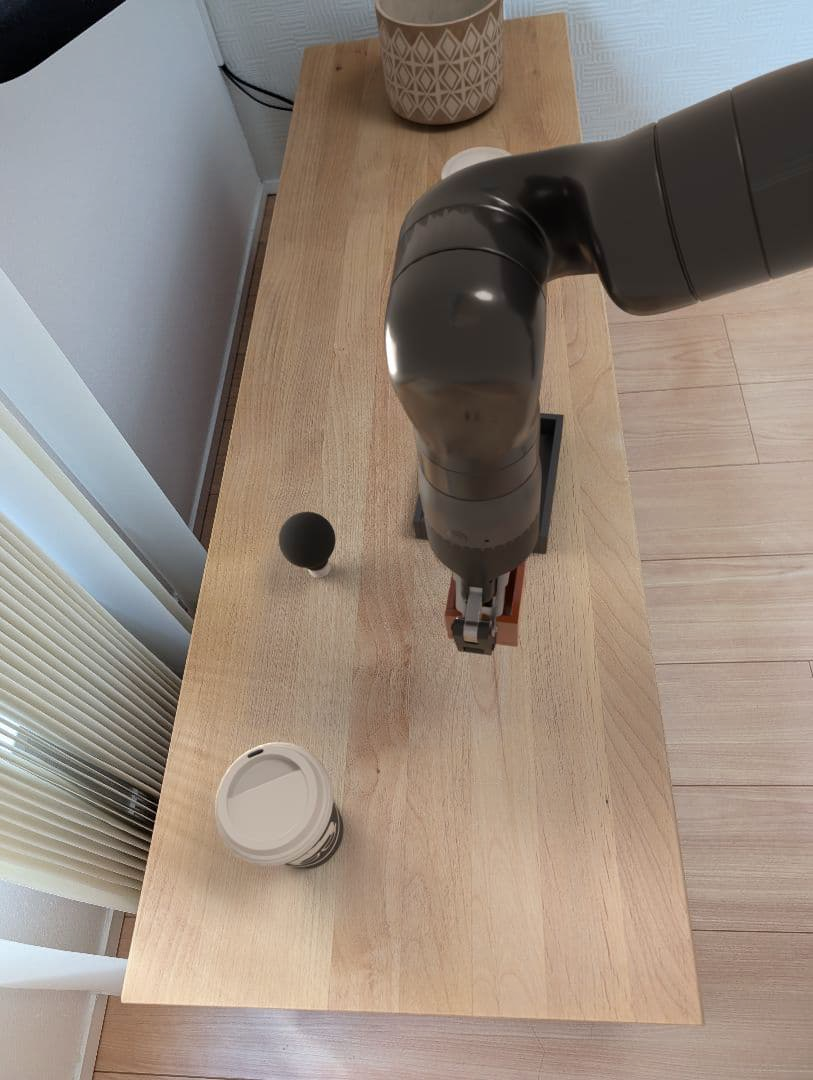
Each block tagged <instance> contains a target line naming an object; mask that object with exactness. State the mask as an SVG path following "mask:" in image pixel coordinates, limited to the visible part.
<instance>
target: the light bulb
mask: <svg viewBox="0 0 813 1080" xmlns="http://www.w3.org/2000/svg"><path fill="white" fill-rule="evenodd" d="M278 534H279V535H278V546H279V550H280V552H281V555H283V557H284V558H285V559H286V561H288V562H289V563H290V564H292V565H294V566H296V567H299V568H303V569H305V568H306V569H307V571H308V573H309V575H311V576H312V577H313V578H317V579H319V578H323V577H325V576H327V575H328V574H329V573H330V570H331V563H330V560H329V559H330V557H331V556H332V554H333V553H334V550H335V548H336V541H337V540H336V532H335V530H334V528H333V525H332V523H331V522H330V521H329V520H328V519H327V518H326V517H324V516H323V515H321V514H319V513H317V512H313V511H302V512H297V513H295V514H292V515H291V516H289V518H287V519H286V520H285V521H284V523H283V525H282V526H281V528H280V531H279V533H278Z"/></svg>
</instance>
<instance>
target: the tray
mask: <svg viewBox="0 0 813 1080" xmlns="http://www.w3.org/2000/svg"><path fill="white" fill-rule="evenodd" d="M540 416H541V417H540V440H539V457H540V462H541V471H542V481H541V498H540V516H539V533H538V538H537V542H536V545H535V547H534V549H533V551H532V552H531V553H535V554H536V553H537V554H543V555H545V554H547V550H548V544H549V543H548V542H549V535H550V527H551V520H552V512H553V506H554V505H553V504H554V499H555V498H554V497H555V490H556V483H557V475H558V467H559V460H560V453H561V446H562V445H561V444H562V438H563V429H564V420H565V419H564V418H565V414H562V413H561V414H560V413H548V412H540ZM415 504H416V505H415V509H414V513H413V519H412V525H413V531H414V535H415V538H416V539H420V540H428V535H427V530H426V524H425V519H424V513H423V508H422V502H421V497H420V491H419V490H418V497H417V499H416V503H415Z"/></svg>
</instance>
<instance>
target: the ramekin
mask: <svg viewBox="0 0 813 1080" xmlns="http://www.w3.org/2000/svg"><path fill="white" fill-rule="evenodd" d="M511 155H512V154H511V153H510V152H508V151H507V150H504V149H502V148H498V147H493V146H475V147H471V148H467V149H464V150H462V151H460V152H458V153H456V154H454V155H453V156H452V157H450V158H449V159H448V160H447V161H446V163H444V165H443V167H442V169H441V171H440V181H441V180H443V179H444V178H446V177H448V176H450V175H451V174H453V173H455V172H457V171H459V170H461V169H463V168H466V167H468V166H471V165H474V164H477V163H480V162H483V161H487V160H491V159H495V158H500V157H505V156H511Z"/></svg>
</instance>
